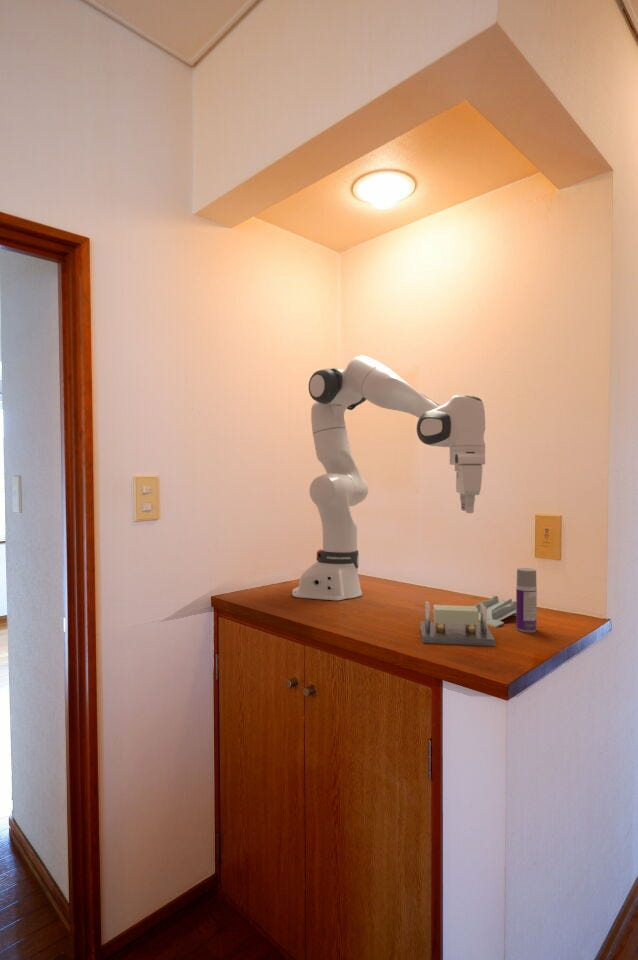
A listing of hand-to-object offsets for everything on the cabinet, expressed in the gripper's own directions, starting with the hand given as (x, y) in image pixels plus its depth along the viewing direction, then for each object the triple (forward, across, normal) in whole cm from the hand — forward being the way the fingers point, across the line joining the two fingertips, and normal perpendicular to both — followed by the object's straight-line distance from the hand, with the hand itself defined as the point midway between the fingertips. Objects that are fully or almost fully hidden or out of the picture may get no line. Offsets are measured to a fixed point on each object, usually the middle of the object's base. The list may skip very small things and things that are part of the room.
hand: (467, 511), depth 138 cm
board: (+26, +11, -4) cm, 28 cm away
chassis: (+29, +11, -4) cm, 31 cm away
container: (+29, +3, +14) cm, 33 cm away
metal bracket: (+30, -8, +8) cm, 32 cm away
